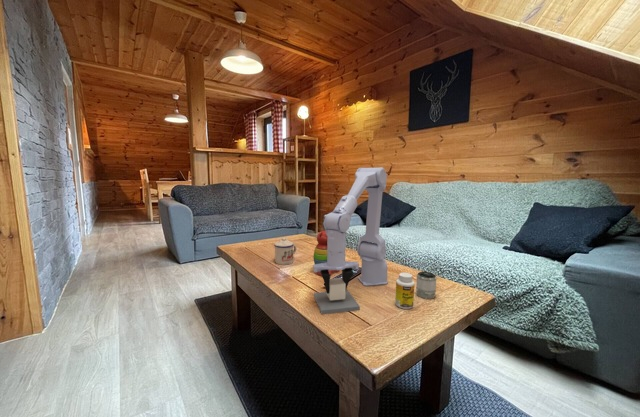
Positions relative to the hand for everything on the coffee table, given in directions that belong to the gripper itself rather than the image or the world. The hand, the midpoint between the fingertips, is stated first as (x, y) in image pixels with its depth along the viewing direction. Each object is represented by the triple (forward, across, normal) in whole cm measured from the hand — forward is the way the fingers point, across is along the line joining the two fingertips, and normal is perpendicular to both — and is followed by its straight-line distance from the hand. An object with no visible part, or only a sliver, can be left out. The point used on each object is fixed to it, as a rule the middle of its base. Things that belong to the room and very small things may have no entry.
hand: (335, 291), depth 85 cm
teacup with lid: (+4, -12, +45) cm, 47 cm away
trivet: (+4, 0, 0) cm, 4 cm away
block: (+2, 0, 0) cm, 2 cm away
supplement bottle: (+4, +21, -6) cm, 22 cm away
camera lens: (+4, +32, -1) cm, 32 cm away
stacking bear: (+4, +3, +28) cm, 28 cm away
